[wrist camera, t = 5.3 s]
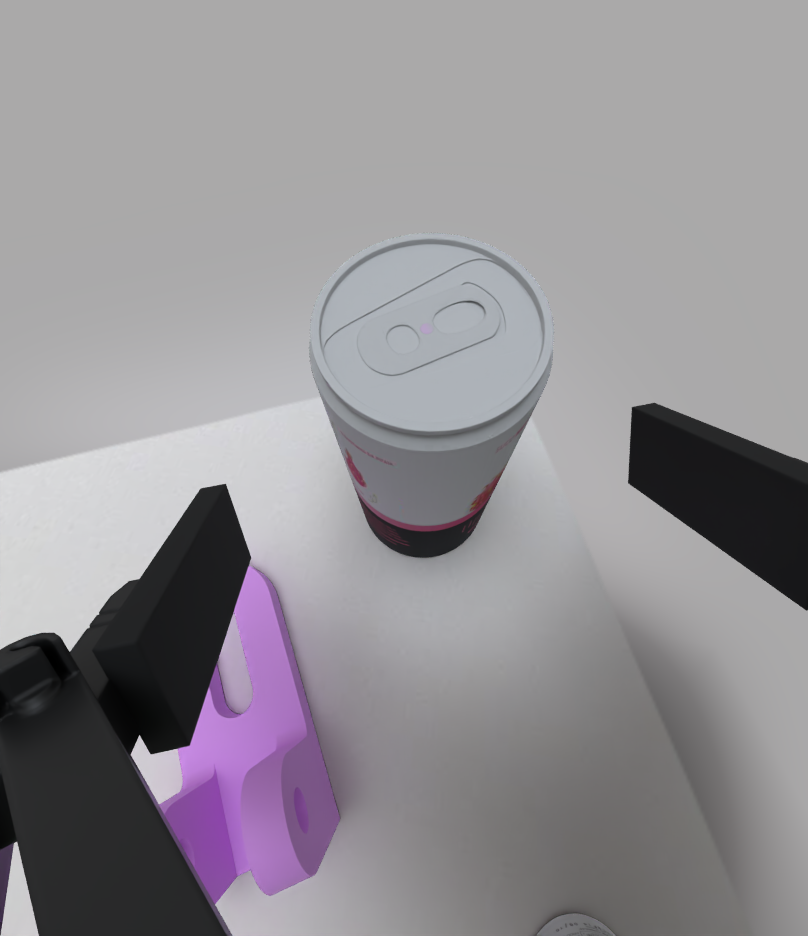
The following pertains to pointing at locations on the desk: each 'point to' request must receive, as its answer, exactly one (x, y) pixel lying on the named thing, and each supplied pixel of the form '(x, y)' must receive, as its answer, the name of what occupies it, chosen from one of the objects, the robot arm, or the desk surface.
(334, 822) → the bracket
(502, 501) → the desk surface
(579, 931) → the pill bottle
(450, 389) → the beverage can
